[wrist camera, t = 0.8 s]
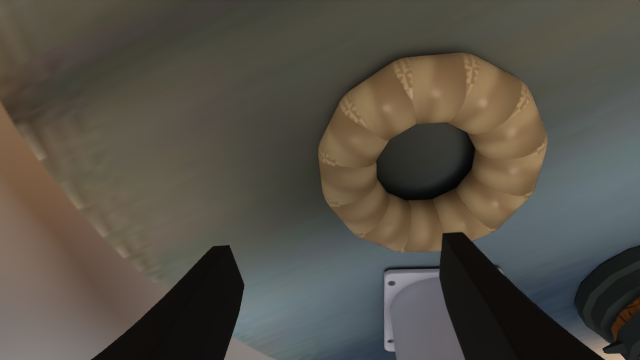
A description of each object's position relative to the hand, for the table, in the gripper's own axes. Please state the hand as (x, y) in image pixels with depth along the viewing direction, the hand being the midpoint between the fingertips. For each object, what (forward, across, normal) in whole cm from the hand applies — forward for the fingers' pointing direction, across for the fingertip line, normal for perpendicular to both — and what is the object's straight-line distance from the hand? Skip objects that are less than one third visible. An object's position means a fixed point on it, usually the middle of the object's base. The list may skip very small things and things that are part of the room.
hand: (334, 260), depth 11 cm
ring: (+7, -4, +1) cm, 8 cm away
